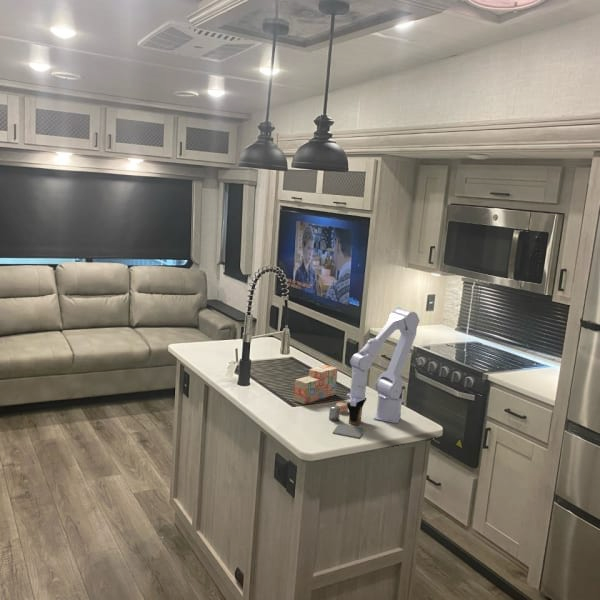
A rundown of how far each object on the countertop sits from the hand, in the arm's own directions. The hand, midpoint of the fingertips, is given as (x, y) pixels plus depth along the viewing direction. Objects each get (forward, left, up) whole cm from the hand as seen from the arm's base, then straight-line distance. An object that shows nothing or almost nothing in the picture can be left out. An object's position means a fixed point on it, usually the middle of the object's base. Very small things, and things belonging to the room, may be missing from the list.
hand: (355, 418), depth 231 cm
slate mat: (0, +10, -2) cm, 10 cm away
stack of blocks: (+22, -21, -2) cm, 30 cm away
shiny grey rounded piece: (+8, +1, -2) cm, 8 cm away
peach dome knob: (+8, -10, -2) cm, 12 cm away
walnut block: (0, 0, -2) cm, 2 cm away
